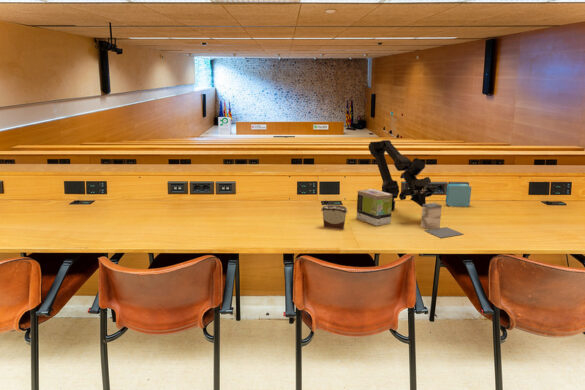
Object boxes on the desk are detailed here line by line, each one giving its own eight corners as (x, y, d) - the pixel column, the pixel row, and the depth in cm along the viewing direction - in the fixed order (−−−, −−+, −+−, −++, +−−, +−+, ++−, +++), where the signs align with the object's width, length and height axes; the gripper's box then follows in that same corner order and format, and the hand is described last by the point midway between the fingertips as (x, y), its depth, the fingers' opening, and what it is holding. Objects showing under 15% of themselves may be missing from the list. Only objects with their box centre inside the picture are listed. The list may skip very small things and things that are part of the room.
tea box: (391, 223, 218) (393, 193, 215) (375, 226, 213) (377, 196, 210) (371, 215, 231) (372, 187, 227) (355, 218, 226) (356, 189, 222)
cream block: (420, 226, 214) (422, 204, 211) (432, 224, 216) (434, 202, 214) (427, 229, 209) (429, 206, 207) (439, 227, 212) (441, 205, 209)
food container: (349, 226, 214) (350, 205, 211) (346, 230, 208) (347, 209, 206) (324, 223, 218) (324, 203, 215) (320, 227, 212) (321, 206, 210)
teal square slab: (467, 204, 253) (469, 184, 250) (469, 207, 248) (471, 185, 245) (445, 204, 253) (447, 183, 250) (447, 206, 249) (449, 185, 246)
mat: (424, 231, 207) (424, 230, 207) (446, 227, 212) (446, 226, 212) (441, 238, 197) (441, 237, 197) (463, 234, 203) (463, 233, 202)
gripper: (404, 172, 212) (417, 201, 205) (435, 170, 219) (449, 197, 212) (393, 185, 221) (405, 213, 214) (423, 182, 228) (436, 209, 221)
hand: (424, 207), depth 215 cm, fingers closed
